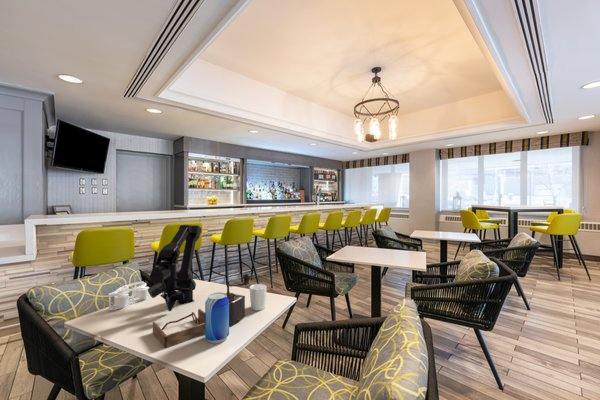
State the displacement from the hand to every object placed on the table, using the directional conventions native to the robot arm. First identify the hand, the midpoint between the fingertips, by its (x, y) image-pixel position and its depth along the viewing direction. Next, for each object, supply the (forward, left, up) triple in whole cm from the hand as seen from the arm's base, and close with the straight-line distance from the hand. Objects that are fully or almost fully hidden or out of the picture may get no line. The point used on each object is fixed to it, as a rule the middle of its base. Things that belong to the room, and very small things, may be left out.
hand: (169, 310), depth 121 cm
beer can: (-6, +34, -2) cm, 35 cm away
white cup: (-33, +21, -2) cm, 39 cm away
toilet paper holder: (+10, -28, -2) cm, 30 cm away
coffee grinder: (-19, +22, -2) cm, 29 cm away
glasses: (+2, +20, -2) cm, 20 cm away
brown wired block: (+1, +21, -1) cm, 21 cm away
